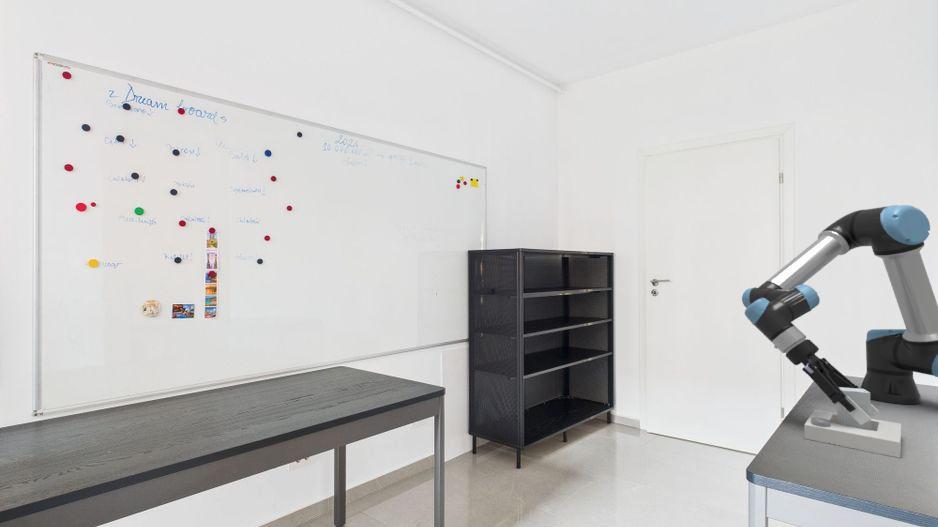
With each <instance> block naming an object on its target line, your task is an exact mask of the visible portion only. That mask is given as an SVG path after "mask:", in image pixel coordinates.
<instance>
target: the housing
mask: <svg viewBox="0 0 938 527" xmlns="http://www.w3.org/2000/svg"><path fill="white" fill-rule="evenodd" d="M803 428H804V429H803V430H804V436H803V437H804V439H805V440H810V441H815V442H820V443H825V444H829V443H830V444H829V445H834V444H835V446H839V445H840V446H839V447H845V448H849V449H853V448H854V449H853V450H859V451H862V452H863V451H864V452H869V453H872V454H873V453H875V454H880V455H884V456H889V457H893V458H899V459H901V454H902V449H901V448H902V423H899V422H893V421H887V420H880V419H874V418H871V430H867V429H861V428H856V427H850V426H845V425H839V424H837V412H833V411H826V410H821V409H813V412H812V413H811V414H810V416H809V417H808V419H807V420H806V422H805V423H804V426H803Z"/></svg>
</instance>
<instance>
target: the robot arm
mask: <svg viewBox="0 0 938 527" xmlns="http://www.w3.org/2000/svg"><path fill="white" fill-rule="evenodd" d="M929 231H931V224H930V221H929V219H928V217H927V215H926V214H925V213H924V212H923V211H922V210H921V209H920V208H918V207H915V206H913V205H909V204H902V205H898V204H897V205H890V206H889V205H888V206H881V207H874V208H868V209H860V210H859V209H858V210H855V211H852V212H850V213H847V214H846V215H843V216H842V217H840V218H838V219H837V220H836V221H834V222H833V223H831V224H830V225H828V226H827V227H826V228H824V229H823V230H822V231H821V232H819V233H818V236H817V239H816V240H815V241H814V242H813V243H811V244H810V245H809V246H808V247H806V248H805V249H804V250H802V251H801V252H800V253H799V254H798V255H797V256H796V257H794V258H793V259H791V261H790V262H788V263H787V264H785V265H784V266H783V267H782V268H780V269H779V270H778V271H777V272H776V273H775V274H774V275H772V276H771V277H770V278H769V279H768V280H766V281H765V282H763V283H762V284H761V285H759V286H758V287H750V288H747V289H746V290H744V292H743V293H742V296H741V301H742V305H743V306H744V308H745V310H744V315H745V317H746V318H747V320H749V321H750V323H751V324H752V325H753V326H754V327H755V328H756V329H758V331H759V332H761V333H762V335H763V336H764V337H766V339H768V340H769V341H770V343H772V344H773V346H774V349H778V350H779V351H780V352H781V353H782V354H785V357H786V358H787V359H788V360H789V361H790V362H791V363H792V364H793V365H794V366H798V365H801V364H802V365H803V366H804V367H803V368H802V370H801V371H802V372H804V373H805V374H806V375H808V377H810V379H811V380H812V381H813V382H814V383H815V384H816V386H818V387H819V389H820V390H821V391H822V392H823V393H824V394H825V395H826V396H827V398H828V399H830V401H831V403H833V404H834V405H835V404H837V402H838V403H839V404H840V405H841V406H842V407H843V408H844V409H845V410H846V411H847V412H848V413H849V414H850V415H851V416H852V417H853V418H854V419H855V420H856V421H857V422H858V423H859V424H860V425H862V424H864V423H865V422H867V421H869V420H870V419H872V417H873V416H874V415H876V414H878V413H880V411H879V409H878V408H876V407H875V406H874V405H873V404H872V403H871V418H870V417H869V416H868V415H867V414H866V413H865V412H864V411H863V410H862V409H861V408H860V407H859V406H858V405H857V404H856V403H855V402H854V401H853V400H852V399H851V398H850V397H848V396H847V397H846V396H845V394H844V393H843V392H842V391H841V390H840V388H839V387H844V388H859V389H865V390H866V391H868V392H870V400H874V401H879V402H885V403H890V404H891V403H892V404H899V405H918V404H920V403H922V402H921V393H920V392H919V391H920V390H919V389H918V386H917V384H916V381H915V379H914V373H919V374H923V375H927V376H933V377H935V378H938V302H937V299H936V295H935V293H934V291H933V287H932V285H931V281H930V278H929V275H928V272H927V270H926V267H925V263H924V261H923V258H922V255H921V253H920V252H921V250H922V249H923V248H924V247H925V241H926V240H927V239H928V238H929V235H930V232H929ZM860 247H871V250H872V252H873V255H874V257H878V258H880V259H882V261H883V264H884V267H885V270H886V273H887V277H888V279H889V282H890V285H891V288H892V290H893V294H894V296H895V300H896V303H897V306H898V308H899V311H900V314H901V318H902V320H903V323H904V326H905V329H904V328H900V329H898V328H895V329H894V328H892V329H891V328H890V329H888V328H887V329H885V328H884V329H874V328H873V329H869V330H868V331H867V332H866V340H865V355H866V357H865V358H866V373H865V375H864V378H863V380H862V382H861V385H860V387H859V385H856V384H854V383H853V382H852V381H851V380H850V379H848V377H846V376H845V375H844V374H843V373H842V372H840V370H838V369H837V368H836V367H835V366H834V365H832V364H831V363H830V361H828V360H827V358H825V357H822V358H820V357H819V356H817V355H816V353H818V352H819V350H820V349H819V347H818V345H816V344H815V343H814V342H813V341H812V340H811V339H809V338H808V339H807V335H806V334H804V333H803V332H802V330H800V329H799V328H798V327H797V326H796V325H795V324H794V323H793V322H794V321H795V320H796V319H797V320H798V318H800V317H803V316H804V315H805V314H807V313H809V312H811V311H812V310H813V309H815V308H816V307H817V306H819V305H820V302H821V301H820V300H821V299H820V296H819V295H818V292H817V291H816V290H815V289H814V288H813V287H812V286H810V285H807V284H805V283H806V282H807V281H808V280H810V279H811V278H812V277H814V276H815V275H816V274H817V273H819V272H820V271H821V270H822V269H823V268H824V267H826V266H827V265H829V263H831V262H832V261H833V260H835V259H836V258H837V257H838V256H843V255H847V253H848V252H850V251H852V250H853V249H856V248H860Z"/></svg>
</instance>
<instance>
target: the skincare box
mask: <svg viewBox="0 0 938 527" xmlns="http://www.w3.org/2000/svg"><path fill="white" fill-rule="evenodd" d="M839 388H840V390H841V391H842V392H843V393H844V394H845V396H846V397H847V396H848V397H850V398H851V399H852V400H853V401H854V402H855V403H856V404H857V405H858V406H859V407H860V408H861V409H862V410H863V411H864V412H865V413H866V414H867V415H868V416H869V417H870V418H871V419H872V416H871V404H872V403H871V399H870V392H868V391H866V390H865V389H860V387H859V388H844V387H839ZM836 413H837V424H839V425H845V426H850V427H856V428H861V429H867V430H871V419H870V420H869V421H867V422H865V423H864V424H862V425H860V424H859V423H858V422H857V421H856V420H855V419H854V418H853V417H852V416H851V415H850V414H849V413H848V412H847V411H846V410H845V409H844V408H843V407H842V406H841V405H840V404H839V403H838V402H837V403H836Z"/></svg>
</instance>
